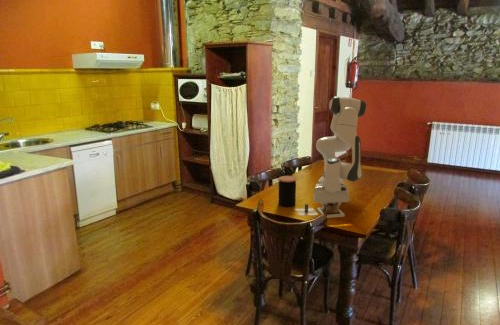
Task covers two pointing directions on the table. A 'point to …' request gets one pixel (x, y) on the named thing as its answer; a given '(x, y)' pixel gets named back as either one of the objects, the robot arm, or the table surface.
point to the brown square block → (331, 207)
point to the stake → (306, 211)
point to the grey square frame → (331, 214)
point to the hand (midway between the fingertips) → (330, 209)
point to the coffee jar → (287, 191)
